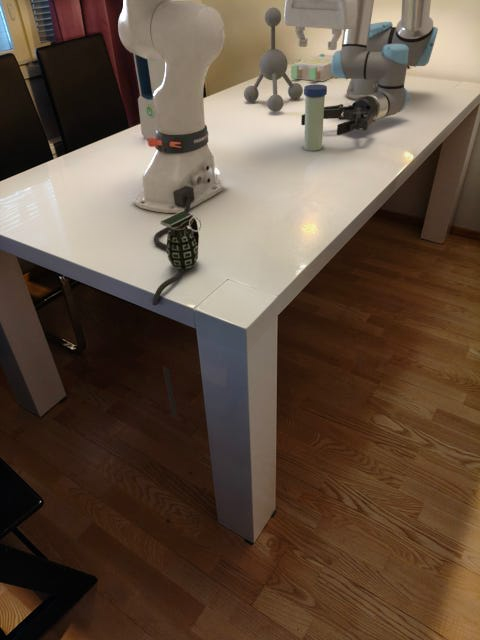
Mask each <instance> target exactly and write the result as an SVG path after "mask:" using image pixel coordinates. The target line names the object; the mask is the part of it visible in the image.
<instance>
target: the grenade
mask: <svg viewBox="0 0 480 640" xmlns="http://www.w3.org/2000/svg"><path fill="white" fill-rule="evenodd" d="M198 222H199V226H198ZM159 224H160V225H162V226H164V227H165V228H166V227H169V228H170V227H171V230H169V231H168V232H167V236H166V245H167V249H165V250H166V254H167V259H168V261H169V263H170V265H171V266H172V267H174V268H176V269H178V270H179V268H181V269H182V268H184V271H186V270H189V269H192V267H194V266H195V265H196V264H197V262H198V261H197V260H198V259H199V243H200V241H199V240H200V233H199V232H200V231H201V228H202V221H201V220H200V219H199V218H198V217H197V216H194V215H193V214H192V213H189V212H188V213H187V212H184V211H181V212H179V213H174V214H172V215H170V216H169V217H166V218H165V219H162V220H160V222H159ZM198 227H199V228H198Z"/></svg>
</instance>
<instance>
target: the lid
mask: <svg viewBox="0 0 480 640" xmlns="http://www.w3.org/2000/svg"><path fill="white" fill-rule="evenodd" d="M327 93H328V86H327V85H325V84H319V83H316V84H314V83H313V84H307V85H305V86H304V88H303V95H304V96H305V97H306V96H308V97H322V96H326V95H327Z"/></svg>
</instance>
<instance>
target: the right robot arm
mask: <svg viewBox="0 0 480 640" xmlns="http://www.w3.org/2000/svg"><path fill="white" fill-rule="evenodd" d="M401 1H402V2H401V16H400V17H401V18H400V20H399V21H398V22H397V24H396V26H393V22H392V21H380V22H374V23H372V18H373V17H372V16H373V12H374V11H373V10H374V4H375V0H357V19H356V24H355V25H354V27H353V28H352V29H348V30H343V34H342V40H341V41H342V42H341V49H340V50H335V52H334V53H333V59H332V65H331V70H332V75H333V76H334V78H335V79H345V80H350V81H349V83H348V86H347V89H346V97H347V98H348V99H350V100H354V101H353V103H352V104H349V105H347V106H345V105H344V104H342V103H339V104H337V105H329V106H324V118H323V120H328V119H329V120H333V119H338V120H339V121H344V122H341V123H338V124H337V126H336V127H337V128H336V136H342V135H344V134H348V133H351V132H353V131H355V130H356V131H360V130H361V129H362V131H363V132H367V130H368V129H369V128H370V127H371V125H372V124H373V123H376V121H377V120H381V119H383V118H386V117H390V116H394V115H396V114H398V113H400V112H402V111H404V110H405V109H406V108H407V106H408V105H409V102H410V95H409V91H408V90H407V88H406V87H405V81H406V75H407V70H408V69H410V68H411V67H413V68H415V67H425V66H427V65H428V64H429V62H430V61H431V56H432V53H433V49H434V46H435V43H436V38H437V35H438V31H439V29H438V27H436V26H434V20H433V18H432V17H431V16H430V13H431V3H432V0H401ZM300 119H301V121H300V122H301V123H300V126H305V113H304V114H301V118H300ZM346 120H347V121H346Z"/></svg>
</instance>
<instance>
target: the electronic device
mask: <svg viewBox="0 0 480 640" xmlns="http://www.w3.org/2000/svg"><path fill="white" fill-rule="evenodd" d="M133 60H134V61H133V62H134V65H135V72H136V79H137V86H138V90H139V97H138V98H137V103H138V113H139V123H140V129H141V130H140V131H141V135H142V136H143V138H144V139H146V140H148V139H149V138H150V137H152V138H156V130H157V129H158V128H157V121H156V114H155V108H154V101H153V95H154V91H155V90H156V88H157V87H158V86H159V85H160V84H161V83H163V80H164V76H165V62H164V61H159V60H149V59H145V58H142V57H140V56H138V55H135V54H133Z"/></svg>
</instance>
